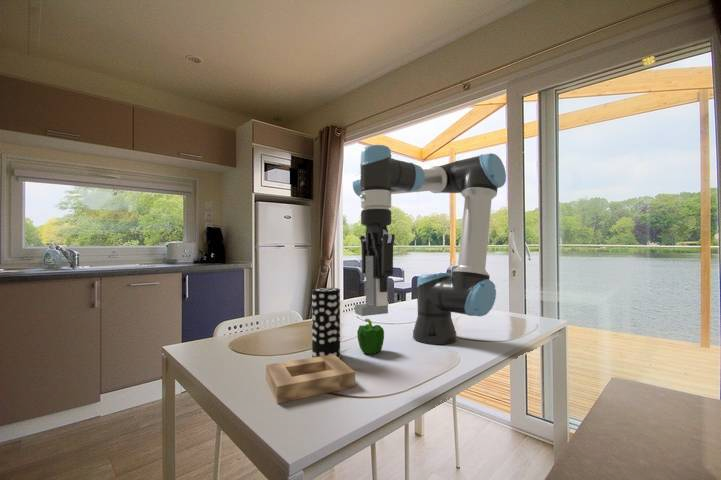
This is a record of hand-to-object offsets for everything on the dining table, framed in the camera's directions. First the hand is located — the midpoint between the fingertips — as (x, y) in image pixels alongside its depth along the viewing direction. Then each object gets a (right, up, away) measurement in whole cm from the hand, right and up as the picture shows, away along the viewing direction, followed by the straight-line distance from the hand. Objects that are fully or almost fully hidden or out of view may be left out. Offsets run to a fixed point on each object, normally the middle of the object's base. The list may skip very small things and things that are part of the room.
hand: (376, 303), depth 80 cm
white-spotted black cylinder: (-14, -19, +17) cm, 29 cm away
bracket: (-1, -2, -1) cm, 3 cm away
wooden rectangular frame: (-16, -19, -2) cm, 25 cm away
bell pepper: (-1, -19, +21) cm, 29 cm away
